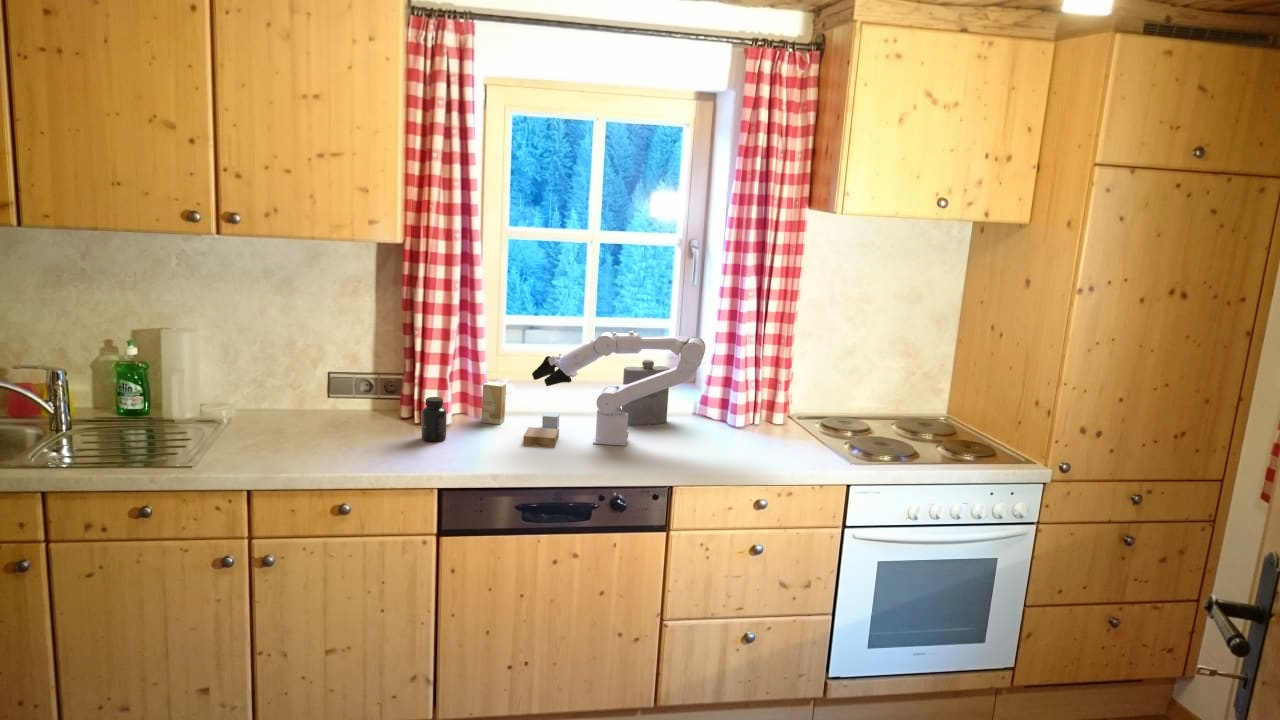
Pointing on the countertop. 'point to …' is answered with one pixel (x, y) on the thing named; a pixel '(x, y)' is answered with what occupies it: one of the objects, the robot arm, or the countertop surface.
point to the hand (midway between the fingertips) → (539, 380)
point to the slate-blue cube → (550, 420)
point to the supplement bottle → (434, 420)
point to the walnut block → (541, 436)
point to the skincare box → (493, 402)
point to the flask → (646, 397)
